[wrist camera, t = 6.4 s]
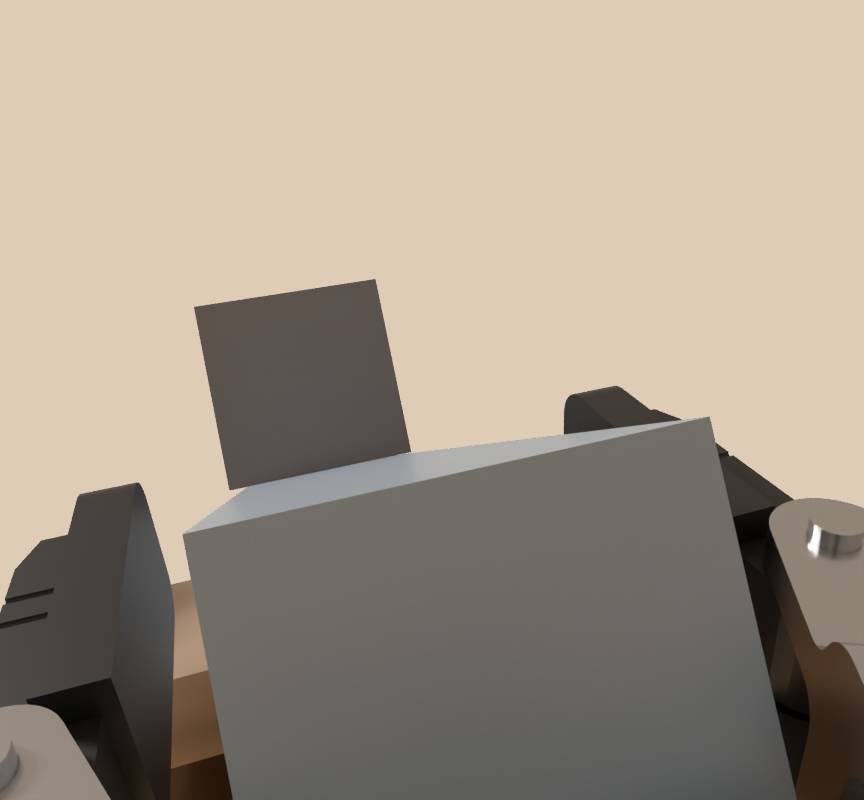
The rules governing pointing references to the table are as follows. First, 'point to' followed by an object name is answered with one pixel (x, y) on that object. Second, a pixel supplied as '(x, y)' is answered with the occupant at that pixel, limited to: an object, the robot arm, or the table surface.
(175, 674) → the walnut stand
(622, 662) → the gray l-shaped block
